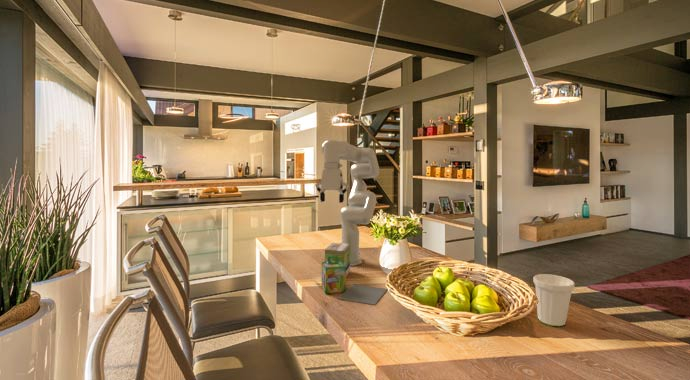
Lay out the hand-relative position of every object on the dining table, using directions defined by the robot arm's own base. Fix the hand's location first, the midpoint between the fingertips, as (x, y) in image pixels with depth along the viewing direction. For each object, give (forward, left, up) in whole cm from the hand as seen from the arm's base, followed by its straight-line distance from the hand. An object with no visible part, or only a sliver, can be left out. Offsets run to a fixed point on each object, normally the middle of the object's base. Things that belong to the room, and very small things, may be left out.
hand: (331, 201), depth 170 cm
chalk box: (+16, +8, -37) cm, 41 cm away
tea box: (-2, +2, -37) cm, 37 cm away
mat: (+16, +22, -37) cm, 46 cm away
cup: (+14, +92, -37) cm, 100 cm away
